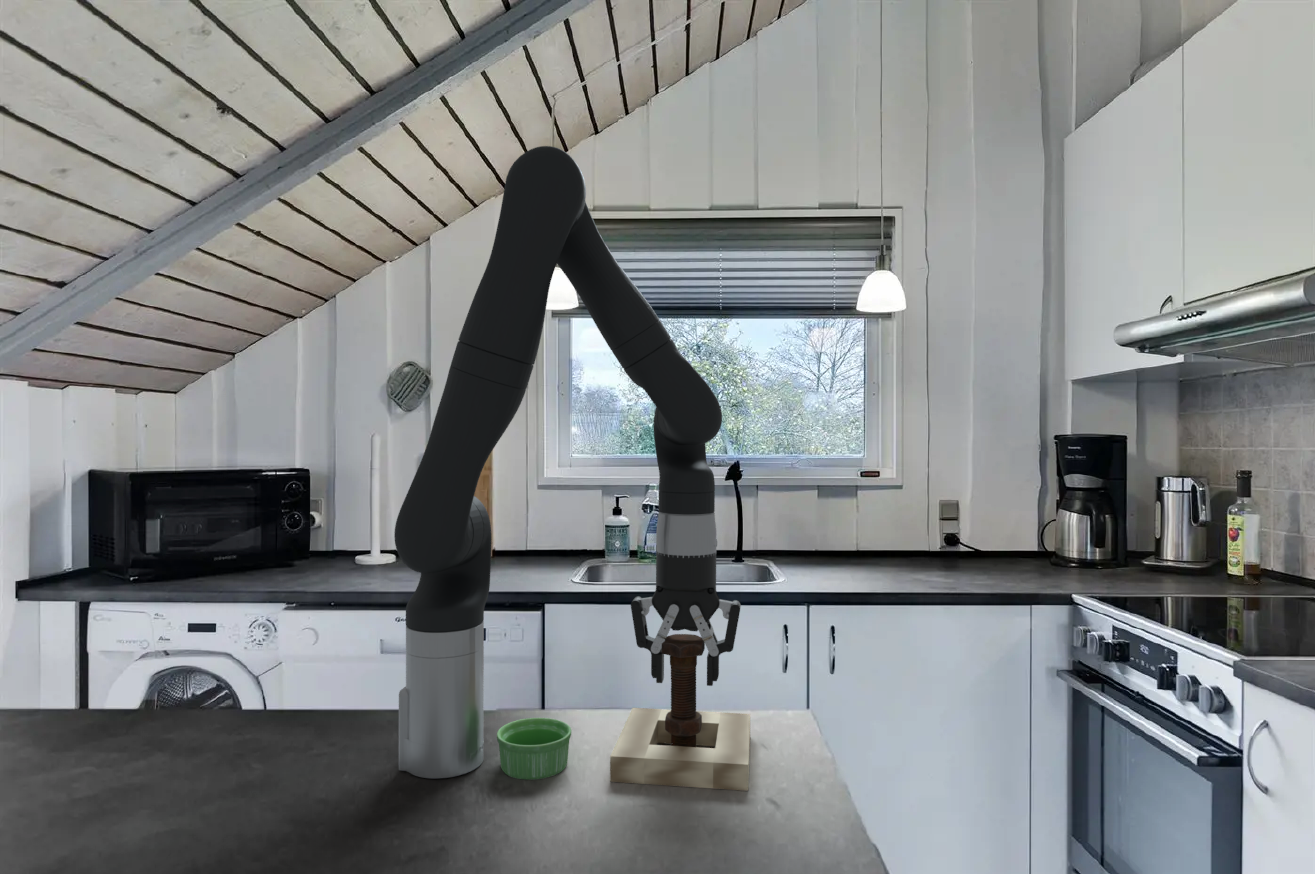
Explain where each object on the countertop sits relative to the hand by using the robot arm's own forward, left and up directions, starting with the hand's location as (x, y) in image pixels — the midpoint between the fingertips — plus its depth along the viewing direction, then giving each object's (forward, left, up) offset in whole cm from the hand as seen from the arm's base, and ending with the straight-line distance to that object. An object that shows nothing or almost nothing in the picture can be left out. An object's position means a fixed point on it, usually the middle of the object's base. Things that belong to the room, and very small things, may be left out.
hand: (685, 681), depth 99 cm
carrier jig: (0, 0, -10) cm, 10 cm away
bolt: (0, 0, -10) cm, 10 cm away
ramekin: (-18, -5, -10) cm, 21 cm away
